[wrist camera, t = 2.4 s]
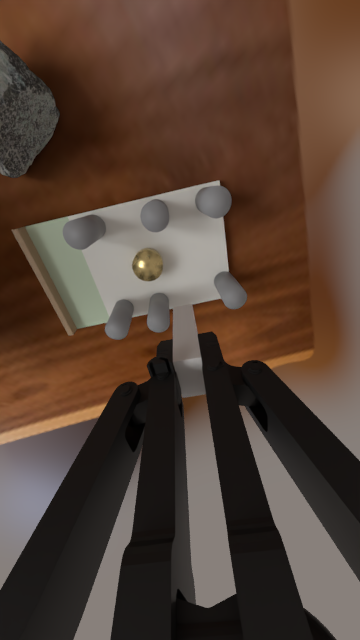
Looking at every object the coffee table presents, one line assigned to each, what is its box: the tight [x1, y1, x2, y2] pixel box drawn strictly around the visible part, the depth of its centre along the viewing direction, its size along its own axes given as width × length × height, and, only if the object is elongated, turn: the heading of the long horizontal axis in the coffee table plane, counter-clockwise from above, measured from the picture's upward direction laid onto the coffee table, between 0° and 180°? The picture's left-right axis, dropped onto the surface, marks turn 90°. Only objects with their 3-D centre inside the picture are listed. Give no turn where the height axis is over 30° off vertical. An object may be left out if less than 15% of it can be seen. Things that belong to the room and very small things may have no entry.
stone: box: [0, 41, 60, 178], centre depth 24 cm, size 10×10×10 cm
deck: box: [12, 180, 247, 340], centre depth 32 cm, size 29×17×8 cm, turn 102°
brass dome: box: [132, 248, 163, 281], centre depth 34 cm, size 4×4×2 cm
